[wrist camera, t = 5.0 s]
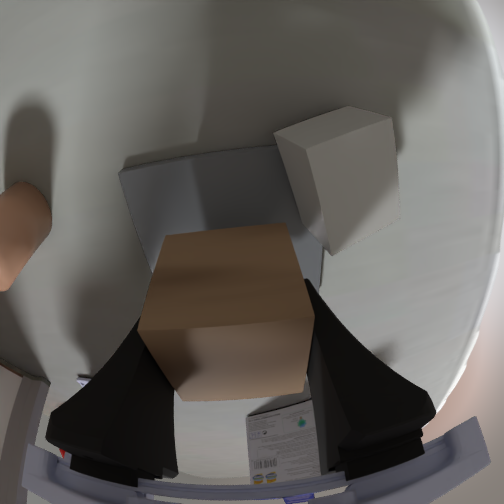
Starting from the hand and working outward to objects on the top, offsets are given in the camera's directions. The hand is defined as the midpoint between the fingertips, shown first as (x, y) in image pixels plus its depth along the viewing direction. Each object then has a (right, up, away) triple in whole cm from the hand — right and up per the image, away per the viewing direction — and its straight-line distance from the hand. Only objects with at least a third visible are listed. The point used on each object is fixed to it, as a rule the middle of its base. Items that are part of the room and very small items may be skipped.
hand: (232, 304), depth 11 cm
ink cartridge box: (+5, -19, +21) cm, 29 cm away
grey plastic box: (+4, +6, +1) cm, 8 cm away
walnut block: (0, +1, +1) cm, 2 cm away
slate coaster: (0, +3, +4) cm, 5 cm away
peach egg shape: (-14, +5, +2) cm, 14 cm away
